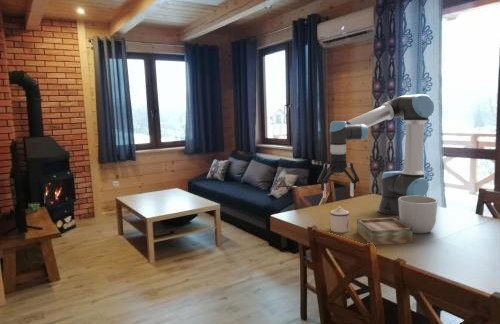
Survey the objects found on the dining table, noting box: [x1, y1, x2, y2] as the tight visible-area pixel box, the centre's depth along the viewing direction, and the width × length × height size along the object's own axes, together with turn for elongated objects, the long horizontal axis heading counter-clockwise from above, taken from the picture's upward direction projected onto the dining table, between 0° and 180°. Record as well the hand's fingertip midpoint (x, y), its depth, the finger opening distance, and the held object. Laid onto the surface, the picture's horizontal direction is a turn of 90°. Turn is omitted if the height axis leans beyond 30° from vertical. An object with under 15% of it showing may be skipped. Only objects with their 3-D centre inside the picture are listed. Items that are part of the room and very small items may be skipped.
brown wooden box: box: [356, 217, 413, 246], centre depth 171 cm, size 18×18×6 cm
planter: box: [398, 195, 439, 234], centre depth 178 cm, size 17×17×15 cm
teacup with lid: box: [329, 206, 350, 234], centre depth 185 cm, size 12×9×12 cm
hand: (338, 196), depth 183 cm, fingers open, 13 cm apart
